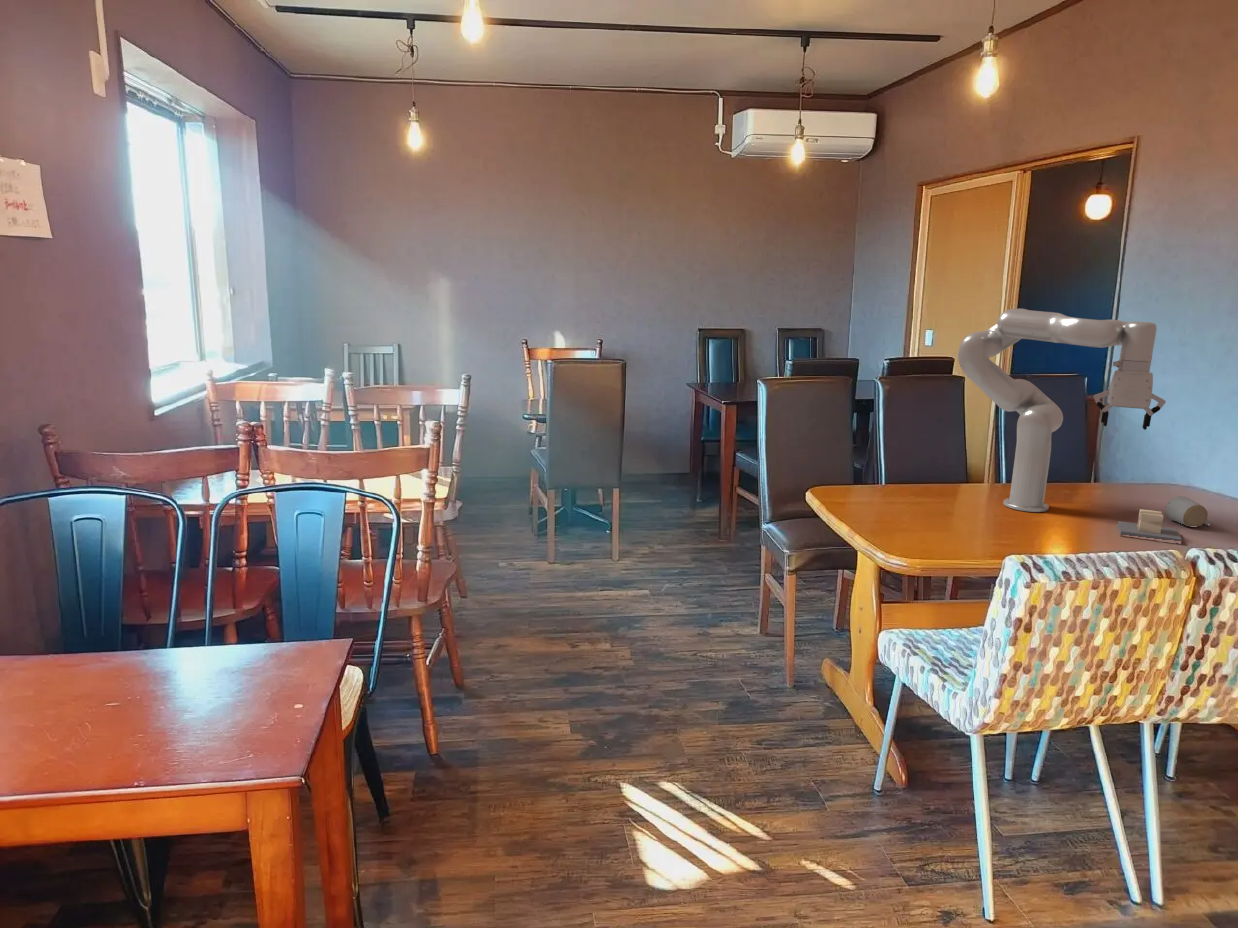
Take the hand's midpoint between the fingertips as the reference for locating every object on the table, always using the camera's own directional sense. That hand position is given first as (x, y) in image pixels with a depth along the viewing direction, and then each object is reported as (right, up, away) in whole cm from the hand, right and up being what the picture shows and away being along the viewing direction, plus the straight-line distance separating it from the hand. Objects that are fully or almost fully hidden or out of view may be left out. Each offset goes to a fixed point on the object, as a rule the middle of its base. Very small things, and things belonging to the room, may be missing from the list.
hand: (1124, 427), depth 229 cm
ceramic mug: (+23, -28, +7) cm, 37 cm away
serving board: (+4, -30, -4) cm, 31 cm away
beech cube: (+4, -29, -5) cm, 29 cm away
